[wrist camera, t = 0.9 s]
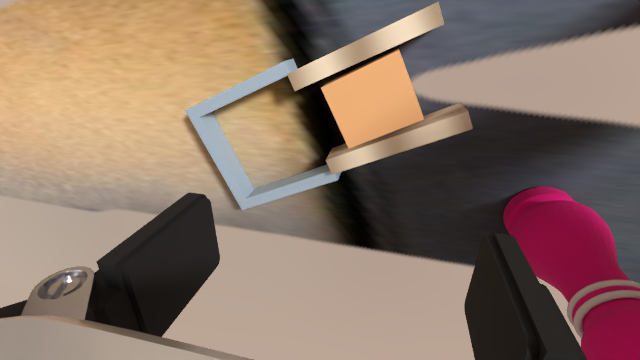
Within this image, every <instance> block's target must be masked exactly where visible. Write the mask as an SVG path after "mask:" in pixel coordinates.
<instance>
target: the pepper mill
mask: <svg viewBox="0 0 640 360" xmlns="http://www.w3.org/2000/svg"><path fill="white" fill-rule="evenodd" d="M503 221H504V224H505V227H506V228H507V230H508V232H509V234H510V235H513V236H514V237H515V238H516V240H517V242H518V244H519V246H520V247H521V249H522V251H523V253H524V255H525V257H526V259H527V261H528V263H529V264H530V266H531V268H532V270H533V272H534V274H535V276H537V277H539V278H540V279H542V280H544V281H545V282H547V283H549V284H550V285H552V286H554V287H555V288H556V289H558V290H559V291H560V292H561V293H562V294H563V295H564V297H565V298H566V300H567V301H568V303H569V304H568V307H567V316H568V318H569V321H570V322H571V324H572V325H573V326H574V328H575V330H576V332H577V334H578V335H579V336H580V337H581V349H582V351H583V352H584V354H585V356H586V358H587V360H640V283H637V282H634V281H631V280H630V279H629V278H628V277H627V276H626V275H625V274H624V273H623V272H622V270H621V269H620V268H619V265H618V262H617V256H616V248H615V242H614V239H613V236H612V234H611V231H610V229H609V227H608V226H607V224H606V223H605V222H604V221H603V219H602V218H601V217H600V216H599V215H598V214H597V213H596V212H595V211H594V210H592V209H591V208H589V207H587V206H585V205H583V204H580V203H576V202H575V201H574V200H573V199H572V198H571V197H570V196H569V195H567V194H566V193H565V192H563V191H561V190H559V189H556V188H552V187H535V188H531V189H528V190H525V191H522V192H521V193H519V194H517V195H516V196H514V197H513V198H512V199H511V200H510V201H509V203H508V204H507V205H506V207H505V210H504V213H503Z"/></svg>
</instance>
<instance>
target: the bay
mask: <svg viewBox="0 0 640 360" xmlns="http://www.w3.org/2000/svg"><path fill="white" fill-rule="evenodd" d="M296 69H298V68H297V66H296V64H295V62H294V59H291V60H287V61H284V62H282V63H280V64H278V65H276V66H274V67H272V68H270V69H268V70H266V71H264V72H262V73H260V74H258V75H256V76H254V77H252V78H250V79H248V80H246V81H244V82H242V83H240V84H237V85H235V86H233V87H231V88H229V89H227V90H225V91H223V92H221V93H219V94H217V95H215V96H213V97H211V98H209V99H207V100H205V101H203V102H201V103H199V104H197V105H195V106H193V107H191V108H189V109H187V110H185V111H186V113H187V115H188V117H189V118H190V120H191V122H192V124H193V125H194V127H195V129H196V131H197V132H198V134H199V136H200V138H201V139H202V141H203V143H204V145H205V146H206V148H207V150H208V152H209V153H210V155H211V157H212V159H213V160H214V162H215V164H216V166H217V167H218V169H219V171H220V173H221V174H222V176H223V178H224V180H225V181H226V183H227V185H228V187H229V188H230V190H231V192H232V194H233V195H234V197H235V199H236V200H237V202H238V204H239V206H240V207H241V209H242V210H245V209H248V208H251V207H254V206H257V205H260V204H264V203H267V202H270V201H273V200H276V199H279V198H283V197H286V196H289V195H292V194H295V193H299V192H302V191H305V190H308V189H311V188H314V187H318V186H321V185H324V184H327V183H330V182H333V181H337V180H338V179H339V176H340V174H341V172H339V173H336V174H332V173H331V171H330V169H329V167H328V164H327V165H324V166H321V167H318V168H315V169H312V170H309V171H306V172H303V173H300V174H297V175H294V176H291V177H288V178H285V179H282V180H280V181H277V182H274V183H271V184H268V185H265V186H262V187H259V188H256V189H254V187H253V186H252V184H251V182H250V180H249V178H248V176H247V174H246V173H245V171H244V169H243V167H242V165H241V163H240V162H239V160H238V158H237V156H236V154H235V152H234V151H233V149H232V147H231V145H230V143H229V141H228V140H227V138H226V136H225V134H224V132H223V130H222V129H221V127H220V125H219V123H218V121H217V119H216V118H215V116H214V114H213V111H215V110H217V109H219V108H221V107H223V106H225V105H228V104H230V103H232V102H234V101H236V100H238V99H240V98H242V97H244V96H247V95H249V94H251V93H253V92H255V91H257V90H259V89H261V88H263V87H266V86H268V85H270V84H272V83H274V82H276V81H278V80H280V79H282V78H285V77H287V76H288V75H287V74H288V73H290V72H292V71H294V70H296Z"/></svg>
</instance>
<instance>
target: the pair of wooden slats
mask: <svg viewBox="0 0 640 360" xmlns="http://www.w3.org/2000/svg"><path fill="white" fill-rule="evenodd" d="M443 24H444V21H443V17H442V14H441V10H440V6H439V3H438V2H437V3H435V4H433V5H431V6H429V7H426V8H424V9H422V10H420V11H418V12H416V13H414V14H412V15H410V16H408V17H406V18H403V19H401V20H399V21H397V22H395V23H393V24H391V25H389V26H387V27H385V28H382V29H380V30H378V31H376V32H374V33H372V34H370V35H368V36H366V37H364V38H361V39H359V40H357V41H355V42H353V43H351V44H349V45H347V46H345V47H343V48H341V49H338V50H336V51H334V52H332V53H330V54H328V55H326V56H324V57H322V58H320V59H317V60H315V61H313V62H311V63H309V64H307V65H305V66H303V67H301V68H299V69H296V70H294V71H292V72H290V73H288V74H287V75H288V77H289V80H290V82H291V84H292V86H293V88H294V91H297V90H299V89H301V88H303V87H305V86H308V85H310V84H312V83H314V82H317V81H319V80H321V79H323V78H325V77H328V76H330V75H332V74H334V73H337V72H339V71H341V70H343V69H345V68H348V67H350V66H352V65H354V64H357V63H359V62H361V61H363V60H366V59H368V58H370V57H372V56H374V55H377V54H379V53H381V52H383V51H386V50H388V49H390V48H392V47H394V46H397V45H399V44H401V43H403V42H406V41H408V40H410V39H412V38H414V37H417V36H419V35H421V34H423V33H426V32H428V31H430V30H432V29H434V28H437V27H439V26H441V25H443ZM423 117H424V120H421V121H419V122H416V123H414V124H411V125H409V126H406V127H403V128H401V129H398V130H396V131H393V132H391V133H388V134H385V135H383V136H380V137H378V138H375V139H373V140H370V141H367V142H365V143H362V144H360V145H357V146H355V147H352V148H348V146H347V144H343V145H340V146H338V147H335V148H332V150H331V151H330V153H329V155H328V157H327V159H326V162H327V164H328V167H329V169H330V171H331V173H332V174H336V173H339V172H342V171H345V170H348V169H351V168H354V167H357V166H360V165H363V164H366V163H369V162H373V161H376V160H379V159H382V158H385V157H388V156H391V155H394V154H397V153H400V152H403V151H407V150H410V149H413V148H416V147H419V146H422V145H425V144H428V143H431V142H434V141H437V140H440V139H444V138H447V137H450V136H453V135H456V134H459V133H462V132H465V131H468V130H471V129H473V127H472V123H471V120H470V116H469V112H468V110H467V109H466V108H465V107H464V106H463V105H462V104H461V103H458V104H455V105H452V106H450V107H447V108H444V109H441V110H438V111H436V112H433V113H430V114H427V115H424V116H423Z"/></svg>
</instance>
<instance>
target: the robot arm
mask: <svg viewBox="0 0 640 360" xmlns="http://www.w3.org/2000/svg"><path fill="white" fill-rule="evenodd" d="M219 260H220V255H219V249H218V243H217V237H216V231H215V225H214V219H213V213H212V207H211V202H210V200H209V199H207V197H206V196H205V195H204V194H197V193H187V194H186V195H184V196H183V197H182V198H180V199H179V200H178V201H176V202H175V203H174V204H172V205H171V206H170V207H168V208H167V209H166V210H164V211H163V212H162V213H160V214H159V215H158V216H157V217H155V218H154V219H153V220H152V221H150V222H149V223H147V224H146V225H145V226H143V227H142V228H141V229H139V230H138V231H137V232H135V233H134V234H133V235H131V236H130V237H129V238H127V239H126V240H125V241H123V242H122V243H121V244H119V245H118V246H117V247H115V248H114V249H113V250H111V251H110V252H109V253H107V254H106V255H105V256H103V257H102V258H101V259H100V260H98V261H97V264H98V267H99V270H98V271H97V272H95V273H94V272H93V270H91V269H90V268H87V267H72V268H67V269H64V270H61V271H59V272H56V273H54V274H52V275H50V276H48V277H47V278H45V279H44V280H42V281H41V282H40V283H39V284H37V285H36V286H35V287H34V289H33V290H32V292H31V294H30V296H29V298H28V300H25V301H22V302H19V303H15V304H12V305H9V306H6V307H3V308H0V360H252V359H248V358H244V357H240V356H236V355H232V354H228V353H224V352H220V351H216V350H212V349H208V348H203V347H199V346H195V345H191V344H187V343H183V342H179V341H175V340H171V339H167V338H162V335H163V334H164V333H165V332H166V331H167V329H168V328H169V327H170V325H171V324H172V323H173V322H174V320H175V319H176V318H177V317H178V315H179V314H180V313H181V312H182V310H183V309H184V308H185V307H186V305H187V304H188V303H189V301H190V300H191V299H192V298H193V296H194V295H195V294H196V292H197V291H198V290H199V289H200V287H201V286H202V285H203V284H204V283H205V281H206V280H207V279H208V277H209V276H210V275H211V274H212V272H213V271H214V270H215V269H216V267H217V266H218V264H219ZM465 315H466V320H467V324H468V329H469V333H470V338H471V343H472V348H473V352H474V357H475V360H587V358H586V356H585V354H584V352H583V351H582V349H581V347H580V346H579V343H578V342H577V340H576V338H575V336H574V334H573V333H572V331H571V329H570V327H569V325H568V324H567V322H566V320H565V318H564V316H563V315H562V313H561V311H560V309H559V307H558V306H557V304H556V302H555V300H554V298H553V297H552V295H551V293H550V292H549V290H548V289H547V287H546V286H544V285H543V284H540V283H539V281H538V279H537V278H536V276H535V274H534V272H533V270H532V268H531V266H530V264H529V263H528V261H527V259H526V257H525V255H524V253H523V251H522V249H521V247H520V246H519V244H518V242H517V240H516V238H515V237H514V236H513V235H506V234H498V233H492V234H491V235H490V237H484V238H483V240H482V243H481V247H480V250H479V254H478V257H477V261H476V264H475V268H474V272H473V275H472V279H471V282H470V286H469V289H468V293H467V296H466V300H465Z"/></svg>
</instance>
